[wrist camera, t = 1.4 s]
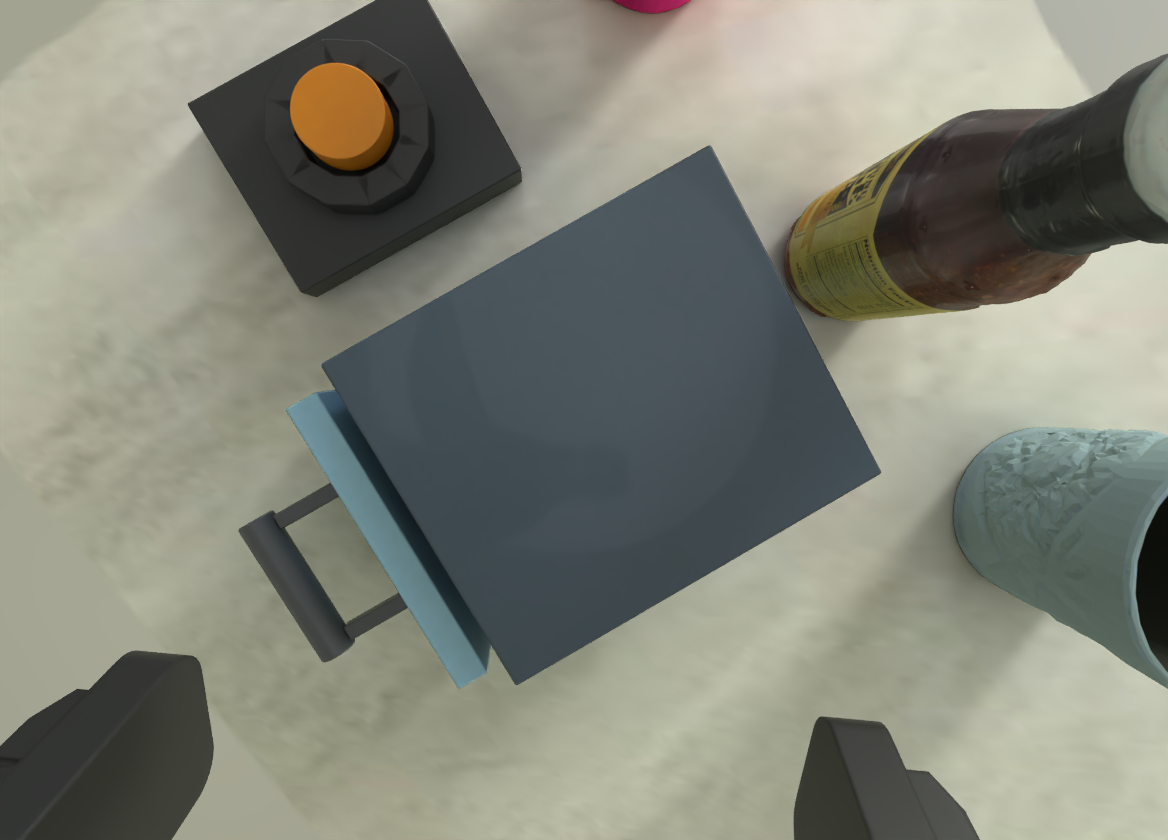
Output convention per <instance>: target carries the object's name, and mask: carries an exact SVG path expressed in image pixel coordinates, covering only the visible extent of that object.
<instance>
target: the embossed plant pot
mask: <svg viewBox="0 0 1168 840" xmlns="http://www.w3.org/2000/svg"><path fill="white" fill-rule="evenodd" d="M954 528H955V532H956V536H957V539H958V542H959V545H960V547H961V549H962V551H963V553H964V555H965V556H966V558H967V559H968V561H969V562H970V563H971V564H972V565H973V567H974V568H975V569H976V570H977V571H978V572H979V573H980V574H981V575H982V576H984V577H985V578H986V579H988V580H989V581H991V582H992V583H994V584H995V585H997V586H998V587H1000V588H1002V589H1003V590H1005V591H1007V592H1008V593H1010V594H1012V595H1014V596H1015V597H1017V598H1019V599H1021V600H1022V601H1024V602H1026V603H1028V604H1030V605H1032V606H1034V607H1036V608H1038V609H1041V610H1043V611H1045V612H1047V613H1049V614H1050V615H1051V616H1052V617H1053V618H1054V619H1055V620H1057V621H1058V622H1060V623H1063V624H1065V625H1067V626H1069V627H1071V628H1073V629H1074V630H1076V631H1078V632H1079V633H1081V634H1083V635H1085V636H1087V637H1089V638H1091V639H1092V640H1094V641H1096V642H1098V643H1099V644H1101V645H1102V646H1104V647H1105V648H1107V649H1108V650H1109V651H1110V652H1112V653H1113V654H1114V655H1116V656H1117V657H1118V658H1120V659H1121V660H1122V661H1124V662H1125V663H1126V664H1128V665H1130V666H1131V667H1133V668H1135V669H1136V670H1138V671H1140V672H1141V673H1143V674H1145V675H1146V676H1148V677H1150V678H1151V679H1153V680H1154V681H1156V682H1158V683H1159V684H1161V685H1163V686H1164V687H1166V688H1167V689H1168V436H1166V435H1164V434H1162V433H1160V432H1154V431H1143V430H1128V431H1123V430H1111V429H1109V430H1103V431H1098V430H1094V429H1070V428H1029V429H1025V430H1021V431H1017V432H1014V433H1011V434H1008V435H1006V436H1003V437H1002V438H1000V439H998V440H996V441H995V442H993V443H991V444H990V445H989V446H987V447H986V448H985V449H984V450H982V451H981V452H980V453H979V454H978V455H977V456H976V457H975V458H974V460H973V461H972V463H971V464H970V465H969V467H968V468H967V470H966V472H965V473H964V475H963V477H962V479H961V481H960V483H959V486H958V489H957V492H956V497H955V503H954Z"/></svg>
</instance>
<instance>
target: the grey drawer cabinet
mask: <svg viewBox="0 0 1168 840" xmlns="http://www.w3.org/2000/svg"><path fill="white" fill-rule="evenodd" d="M322 368H323V370H324V372H325V373H326V375H327V376H328V378H329V380H330V381H331V383H332V385H333V386H334V388H335V390H336V391H337V393H338V394H339V396H340V398H341V399H342V401H343V403H344V404H345V406H346V408H347V409H348V411H349V413H350V414H351V416H352V417H353V419H354V421H355V422H356V424H357V426H358V427H359V429H360V431H361V432H362V434H363V436H364V437H365V439H366V440H367V442H368V444H369V445H370V447H371V449H372V450H373V452H374V454H375V455H376V457H377V458H378V460H379V462H380V463H381V465H382V467H383V468H384V470H385V472H386V473H387V475H388V477H389V478H390V480H391V481H392V483H393V485H394V486H395V488H396V490H397V491H398V493H399V495H400V496H401V498H402V500H403V501H404V503H405V504H406V506H407V508H408V509H409V511H410V513H411V514H412V516H413V518H414V519H415V521H416V523H417V524H418V526H419V527H420V529H421V531H422V532H423V534H424V536H425V537H426V539H427V541H428V542H429V544H430V545H431V547H432V549H433V550H434V552H435V554H436V555H437V557H438V559H439V560H440V562H441V564H442V565H443V567H444V568H445V570H446V572H447V573H448V575H449V577H450V578H451V580H452V582H453V583H454V585H455V587H456V588H457V590H458V591H459V593H460V595H461V596H462V598H463V600H464V601H465V603H466V605H467V606H468V608H469V609H470V611H471V613H472V614H473V616H474V618H475V619H476V621H477V623H478V624H479V626H480V628H481V629H482V631H483V632H484V634H485V636H486V637H487V639H488V641H489V642H490V644H491V646H492V647H493V649H494V651H495V652H496V654H497V655H498V657H499V659H500V660H501V662H502V664H503V665H504V667H505V669H506V670H507V672H508V674H509V675H510V677H511V678H512V680H513V682H514V683H515V684H516V685H518V684H520V683H522V682H524V681H525V680H527V679H529V678H530V677H532V676H534V675H536V674H537V673H539V672H541V671H542V670H544V669H546V668H548V667H549V666H551V665H553V664H554V663H556V662H558V661H560V660H561V659H563V658H565V657H566V656H568V655H570V654H572V653H573V652H575V651H577V650H578V649H580V648H582V647H584V646H585V645H587V644H589V643H591V642H592V641H594V640H596V639H597V638H599V637H601V636H603V635H604V634H606V633H608V632H609V631H611V630H613V629H615V628H616V627H618V626H620V625H621V624H623V623H625V622H627V621H628V620H630V619H632V618H633V617H635V616H637V615H639V614H640V613H642V612H644V611H645V610H647V609H649V608H651V607H652V606H654V605H656V604H658V603H659V602H661V601H663V600H664V599H666V598H668V597H670V596H671V595H673V594H675V593H676V592H678V591H680V590H682V589H683V588H685V587H687V586H688V585H690V584H692V583H694V582H695V581H697V580H699V579H700V578H702V577H704V576H706V575H707V574H709V573H711V572H712V571H714V570H716V569H718V568H719V567H721V566H723V565H725V564H726V563H728V562H730V561H731V560H733V559H735V558H737V557H738V556H740V555H742V554H743V553H745V552H747V551H749V550H750V549H752V548H754V547H755V546H757V545H759V544H761V543H762V542H764V541H766V540H767V539H769V538H771V537H773V536H774V535H776V534H778V533H779V532H781V531H783V530H785V529H786V528H788V527H790V526H792V525H793V524H795V523H797V522H798V521H800V520H802V519H804V518H805V517H807V516H809V515H810V514H812V513H814V512H816V511H817V510H819V509H821V508H822V507H824V506H826V505H828V504H829V503H831V502H833V501H834V500H836V499H838V498H840V497H841V496H843V495H845V494H846V493H848V492H850V491H852V490H853V489H855V488H857V487H858V486H860V485H862V484H864V483H865V482H867V481H869V480H871V479H872V478H874V477H876V476H877V475H879V474H880V473H881V471H880V469H879V467H878V465H877V463H876V461H875V459H874V457H873V455H872V453H871V452H870V450H869V448H868V446H867V444H866V442H865V440H864V438H863V436H862V434H861V432H860V430H859V429H858V427H857V425H856V423H855V421H854V419H853V417H852V415H851V413H850V411H849V409H848V407H847V406H846V404H845V402H844V400H843V398H842V396H841V394H840V392H839V390H838V388H837V386H836V384H835V383H834V381H833V379H832V377H831V375H830V373H829V371H828V369H827V367H826V365H825V363H824V361H823V359H822V358H821V356H820V354H819V352H818V350H817V348H816V346H815V344H814V342H813V340H812V338H811V336H810V335H809V333H808V331H807V329H806V327H805V325H804V323H803V321H802V319H801V317H800V315H799V313H798V312H797V310H796V308H795V306H794V304H793V302H792V300H791V298H790V296H789V294H788V292H787V290H786V289H785V287H784V285H783V283H782V281H781V279H780V277H779V275H778V273H777V271H776V269H775V267H774V266H773V264H772V262H771V260H770V258H769V256H768V254H767V252H766V250H765V248H764V246H763V244H762V243H761V241H760V239H759V237H758V235H757V233H756V231H755V229H754V227H753V225H752V223H751V221H750V220H749V218H748V216H747V214H746V212H745V210H744V208H743V206H742V204H741V202H740V200H739V198H738V197H737V195H736V193H735V191H734V189H733V187H732V185H731V183H730V181H729V179H728V177H727V175H726V173H725V172H724V170H723V168H722V166H721V164H720V162H719V160H718V158H717V156H716V154H715V152H714V150H713V149H712V147H711V146H707V147H705V148H703V149H701V150H699V151H698V152H696V153H694V154H692V155H691V156H689V157H687V158H685V159H683V160H682V161H680V162H678V163H676V164H675V165H673V166H671V167H669V168H668V169H666V170H664V171H662V172H660V173H659V174H657V175H655V176H653V177H652V178H650V179H648V180H646V181H644V182H643V183H641V184H639V185H637V186H636V187H634V188H632V189H630V190H629V191H627V192H625V193H623V194H621V195H620V196H618V197H616V198H614V199H613V200H611V201H609V202H607V203H605V204H604V205H602V206H600V207H598V208H597V209H595V210H593V211H591V212H590V213H588V214H586V215H584V216H582V217H581V218H579V219H577V220H575V221H574V222H572V223H570V224H568V225H566V226H565V227H563V228H561V229H559V230H558V231H556V232H554V233H552V234H550V235H549V236H547V237H545V238H543V239H542V240H540V241H538V242H536V243H535V244H533V245H531V246H529V247H527V248H526V249H524V250H522V251H520V252H519V253H517V254H515V255H513V256H511V257H510V258H508V259H506V260H504V261H503V262H501V263H499V264H497V265H496V266H494V267H492V268H490V269H488V270H487V271H485V272H483V273H481V274H480V275H478V276H476V277H474V278H472V279H471V280H469V281H467V282H465V283H464V284H462V285H460V286H458V287H457V288H455V289H453V290H451V291H449V292H448V293H446V294H444V295H442V296H441V297H439V298H437V299H435V300H433V301H432V302H430V303H428V304H426V305H425V306H423V307H421V308H419V309H418V310H416V311H414V312H412V313H410V314H409V315H407V316H405V317H403V318H402V319H400V320H398V321H396V322H394V323H393V324H391V325H389V326H387V327H386V328H384V329H382V330H380V331H379V332H377V333H375V334H373V335H371V336H370V337H368V338H366V339H364V340H363V341H361V342H359V343H357V344H355V345H354V346H352V347H350V348H348V349H347V350H345V351H343V352H341V353H339V354H338V355H336V356H334V357H332V358H331V359H329V360H327V361H325V362H324V363H322Z"/></svg>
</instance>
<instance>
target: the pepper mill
mask: <svg viewBox="0 0 1168 840" xmlns="http://www.w3.org/2000/svg"><path fill="white" fill-rule="evenodd" d="M614 1H615V2H617V3H619V4H621V5H622V6H624V7H627V8H629V9H631V10H635V11H639V12H646V13H658V12H665V11H669V10H672V9H675V8H677V7H680V6H681V5H683V4H685V3H686V2H688V1H690V0H614Z"/></svg>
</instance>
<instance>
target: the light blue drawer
mask: <svg viewBox="0 0 1168 840" xmlns="http://www.w3.org/2000/svg"><path fill="white" fill-rule="evenodd" d="M286 412H287V413H288V415H289V416H290V418H291V420H292V421H293V423H294V424H295V426H296V428H297V429H298V431H299V433H300V434H301V436H302V437H303V439H304V441H305V442H306V444H307V445H308V447H309V449H310V450H311V452H312V453H313V455H314V457H315V458H316V460H317V462H318V463H319V465H320V466H321V468H322V470H323V471H324V473H325V474H326V476H327V478H328V479H329V481H330V482H331V483H329V484H328V485H326V486H324V487H322V488H321V489H319V490H317V491H315V492H314V493H312V494H310V495H308V496H306V497H305V498H303V499H301V500H299V501H298V502H296V503H294V504H292V505H291V506H289V507H287V508H285V509H284V510H282V511H280V512H278V513H277V514H276V513H275V512H274V511H273V510H272V511H269V512H268V513H266V514H264V515H262V516H261V517H259V518H257V519H255V520H254V521H252V522H250V523H248V524H247V525H245V526H243V527H241V528H240V529H239V533H240V535H241V536H242V538H243V539H244V541H245V542H246V544H247V546H248V547H249V549H250V550H251V552H252V553H253V555H254V556H255V558H256V560H257V561H258V563H259V564H260V566H261V567H262V569H263V570H264V572H265V574H266V575H267V577H268V578H269V580H270V581H271V583H272V585H273V586H274V588H275V589H276V591H277V592H278V594H279V595H280V597H281V599H282V600H283V602H284V603H285V605H286V606H287V608H288V609H289V611H290V613H291V614H292V616H293V617H294V619H295V620H296V622H297V623H298V625H299V627H300V628H301V630H302V631H303V633H304V634H305V636H306V637H307V639H308V641H309V642H310V644H311V645H312V647H313V648H314V650H315V651H316V653H317V655H318V656H319V658H320V659H321V661H322V662H328V661H331V660H333V659H335V658H336V657H338V656H339V655H341V654H342V653H344V652H345V651H346V650H348V649H349V648H350V647H351V646H352V645H353V644H354V642H355V638H356V637H358V636H360V635H362V634H363V633H365V632H367V631H368V630H370V629H372V628H374V627H375V626H377V625H379V624H381V623H382V622H384V621H386V620H388V619H389V618H391V617H393V616H395V615H396V614H398V613H400V612H401V611H403V610H405V609H407V608H409V610H410V611H411V613H412V615H413V616H414V618H415V620H416V621H417V623H418V624H419V626H420V628H421V629H422V631H423V632H424V634H425V636H426V637H427V639H428V641H429V642H430V644H431V645H432V647H433V649H434V650H435V652H436V653H437V655H438V657H439V658H440V660H441V661H442V663H443V665H444V666H445V668H446V670H447V671H448V673H449V674H450V676H451V678H452V679H453V681H454V682H455V684H456V686H457V687H458V688H462V687H463V686H465V685H467V684H468V683H470V682H472V681H474V680H475V679H477V678H479V677H480V676H482V675H484V674H486V673H487V671H488V664H489V657H490V649H491V644H490V642H489V641H488V639H487V637H486V636H485V634H484V632H483V631H482V629H481V628H480V626H479V624H478V623H477V621H476V619H475V618H474V616H473V614H472V613H471V611H470V609H469V608H468V606H467V605H466V603H465V601H464V600H463V598H462V596H461V595H460V593H459V591H458V590H457V588H456V587H455V585H454V583H453V582H452V580H451V578H450V577H449V575H448V573H447V572H446V570H445V568H444V567H443V565H442V564H441V562H440V560H439V559H438V557H437V555H436V554H435V552H434V550H433V549H432V547H431V545H430V544H429V542H428V541H427V539H426V537H425V536H424V534H423V532H422V531H421V529H420V527H419V526H418V524H417V523H416V521H415V519H414V518H413V516H412V514H411V513H410V511H409V509H408V508H407V506H406V504H405V503H404V501H403V500H402V498H401V496H400V495H399V493H398V491H397V490H396V488H395V486H394V485H393V483H392V481H391V480H390V478H389V477H388V475H387V473H386V472H385V470H384V468H383V467H382V465H381V463H380V462H379V460H378V458H377V457H376V455H375V454H374V452H373V450H372V449H371V447H370V445H369V444H368V442H367V440H366V439H365V437H364V436H363V434H362V432H361V431H360V429H359V427H358V426H357V424H356V422H355V421H354V419H353V417H352V416H351V414H350V413H349V411H348V409H347V408H346V406H345V404H344V403H343V401H342V399H341V398H340V396H339V394H338V393H337V391H336V390H332V391H324V392H317V393H313V394H312V395H310V396H308V397H306V398H305V399H303V400H301V401H299V402H297V403H296V404H294V405H292V406H290V407H289V408H287V409H286ZM337 497H340V499H341V500H342V502H343V503H344V505H345V507H346V508H347V510H348V512H349V513H350V515H351V516H352V518H353V520H354V521H355V523H356V524H357V526H358V528H359V529H360V531H361V532H362V534H363V536H364V537H365V539H366V541H367V542H368V544H369V545H370V547H371V549H372V550H373V552H374V553H375V555H376V557H377V558H378V560H379V562H380V563H381V565H382V566H383V568H384V570H385V571H386V573H387V574H388V576H389V578H390V579H391V581H392V582H393V584H394V586H395V587H396V589H397V591H398V592H399V593H397V594H396V595H394V596H392V597H390V598H389V599H387V600H385V601H383V602H382V603H380V604H378V605H377V606H375V607H373V608H371V609H370V610H368V611H366V612H364V613H363V614H361V615H359V616H357V617H356V618H354V619H352V620H350V621H349V622H347V624H345V622H344V621H343V619H342V617H341V616H340V614H339V613H338V611H337V610H336V608H335V606H334V605H333V603H332V602H331V600H330V599H329V597H328V595H327V594H326V592H325V591H324V589H323V587H322V586H321V584H320V583H319V581H318V580H317V578H316V576H315V575H314V573H313V572H312V570H311V569H310V567H309V565H308V564H307V562H306V561H305V559H304V557H303V556H302V554H301V553H300V551H299V550H298V548H297V546H296V545H295V543H294V542H293V540H292V539H291V537H290V535H289V534H288V532H287V531H286V529H285V527H286V526H288V525H290V524H292V523H293V522H295V521H297V520H299V519H300V518H302V517H304V516H306V515H308V514H309V513H311V512H313V511H315V510H316V509H318V508H320V507H322V506H323V505H325V504H327V503H329V502H330V501H332V500H334V499H336V498H337Z"/></svg>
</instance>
